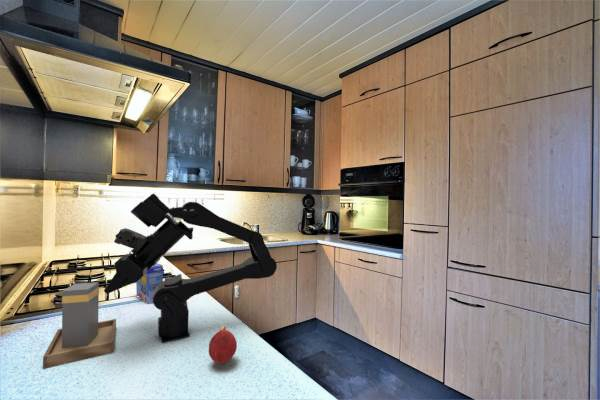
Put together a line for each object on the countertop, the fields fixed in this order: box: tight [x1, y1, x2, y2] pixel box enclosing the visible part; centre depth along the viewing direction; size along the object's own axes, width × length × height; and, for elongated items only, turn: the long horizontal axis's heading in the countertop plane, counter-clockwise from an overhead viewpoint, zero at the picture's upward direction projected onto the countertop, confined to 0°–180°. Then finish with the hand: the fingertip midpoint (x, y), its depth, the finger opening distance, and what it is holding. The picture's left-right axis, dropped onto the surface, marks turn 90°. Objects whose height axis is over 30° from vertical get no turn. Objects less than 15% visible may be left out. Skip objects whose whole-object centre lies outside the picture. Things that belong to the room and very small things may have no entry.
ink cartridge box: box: [135, 262, 164, 305], centre depth 97 cm, size 10×6×14 cm, turn 51°
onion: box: [208, 325, 238, 366], centre depth 59 cm, size 6×6×8 cm
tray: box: [42, 318, 117, 369], centre depth 66 cm, size 12×14×2 cm
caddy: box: [61, 281, 100, 348], centre depth 66 cm, size 5×6×13 cm
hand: (113, 286), depth 68 cm, fingers open, 9 cm apart
